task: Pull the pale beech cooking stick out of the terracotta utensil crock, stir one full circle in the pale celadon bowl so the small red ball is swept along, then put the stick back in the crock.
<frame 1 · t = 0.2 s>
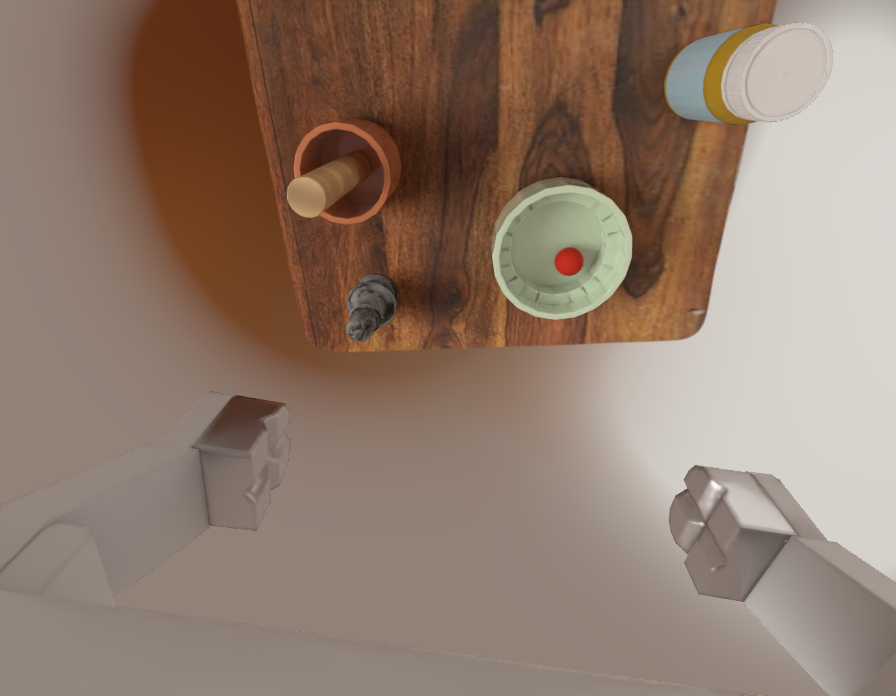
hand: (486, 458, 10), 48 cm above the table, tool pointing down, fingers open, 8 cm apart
crock: (360, 164, 52), on the table
bowl: (553, 241, 55), on the table
grey chess piece: (377, 293, 60), on the table
bottle: (697, 79, 47), on the table
ball: (569, 261, 54), point 2 cm above the table, touching bowl
stick: (358, 165, 51), point 1 cm above the table, touching crock
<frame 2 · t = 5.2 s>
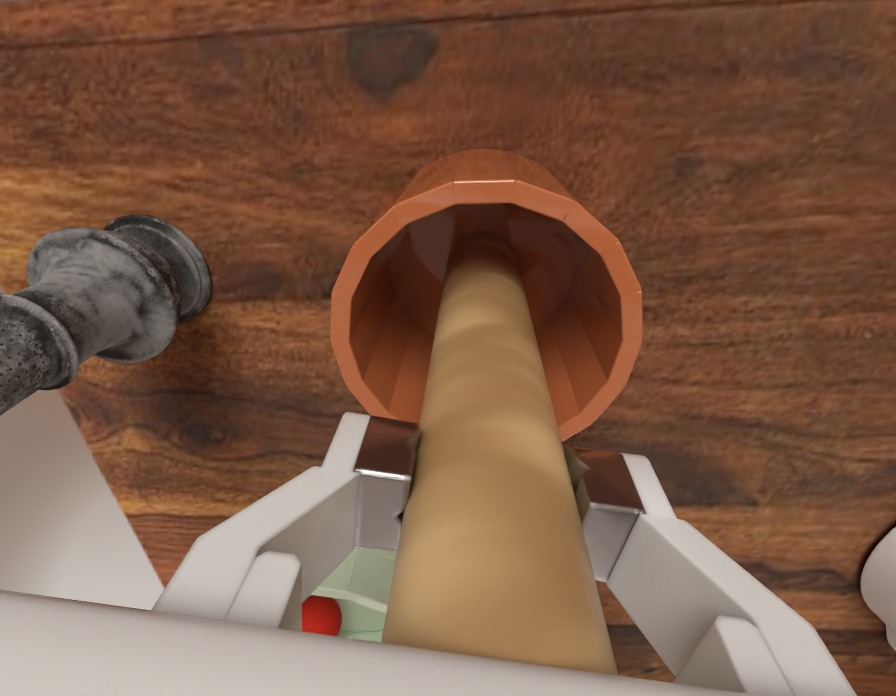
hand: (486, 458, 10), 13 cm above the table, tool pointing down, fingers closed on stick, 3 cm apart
crock: (481, 259, 21), on the table
bowl: (348, 573, 32), on the table
grey chess piece: (157, 269, 22), on the table
ball: (316, 621, 31), point 2 cm above the table, touching bowl
stick: (481, 265, 20), point 1 cm above the table, touching crock, gripper
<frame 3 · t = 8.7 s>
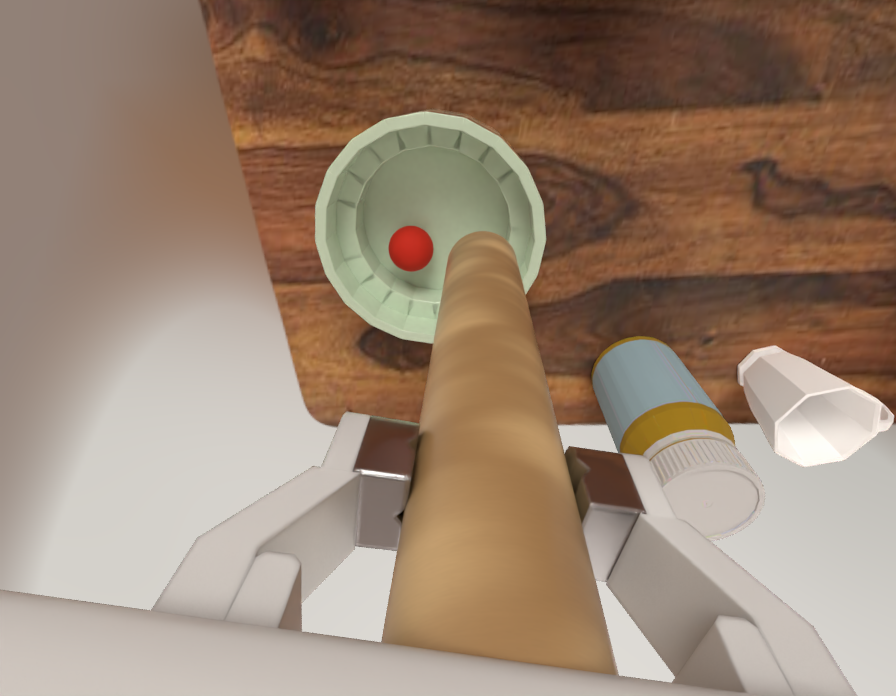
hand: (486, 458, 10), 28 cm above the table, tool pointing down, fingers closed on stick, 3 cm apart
bowl: (436, 218, 35), on the table
cup: (780, 369, 39), on the table
bottle: (631, 368, 40), on the table
ball: (411, 248, 34), point 2 cm above the table, touching bowl
stick: (481, 265, 20), point 15 cm above the table, touching gripper
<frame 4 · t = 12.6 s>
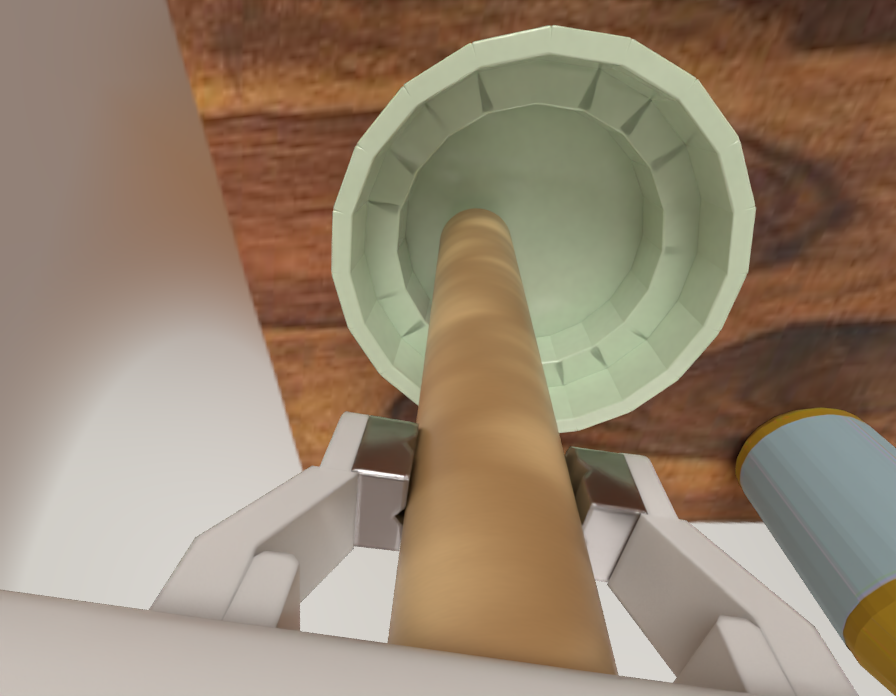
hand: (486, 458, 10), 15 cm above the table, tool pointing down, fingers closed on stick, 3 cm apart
bowl: (520, 230, 22), on the table
bottle: (792, 449, 27), on the table
stick: (475, 243, 20), point 2 cm above the table, touching ball, gripper
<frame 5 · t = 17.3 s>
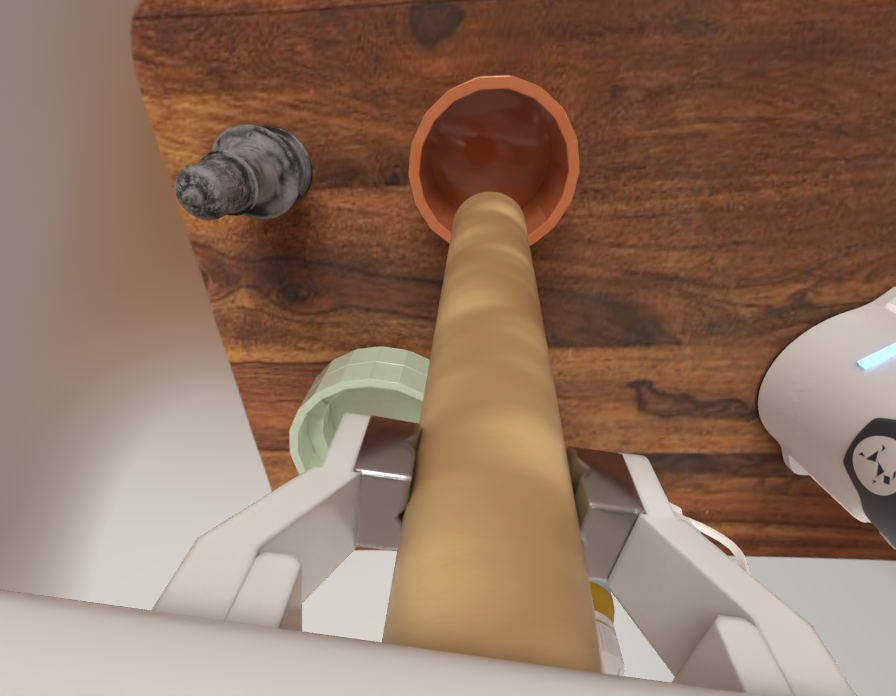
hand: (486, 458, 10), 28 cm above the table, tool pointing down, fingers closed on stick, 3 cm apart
crock: (489, 155, 33), on the table
bowl: (389, 411, 44), on the table
cup: (673, 516, 48), on the table
grey chess piece: (276, 166, 34), on the table
bottle: (553, 513, 49), on the table
stick: (488, 227, 20), point 16 cm above the table, tilted 7°, touching gripper
when the fingers open (13 cm above the table, at t = 21.7 s): stick stays where it is, resting on crock.
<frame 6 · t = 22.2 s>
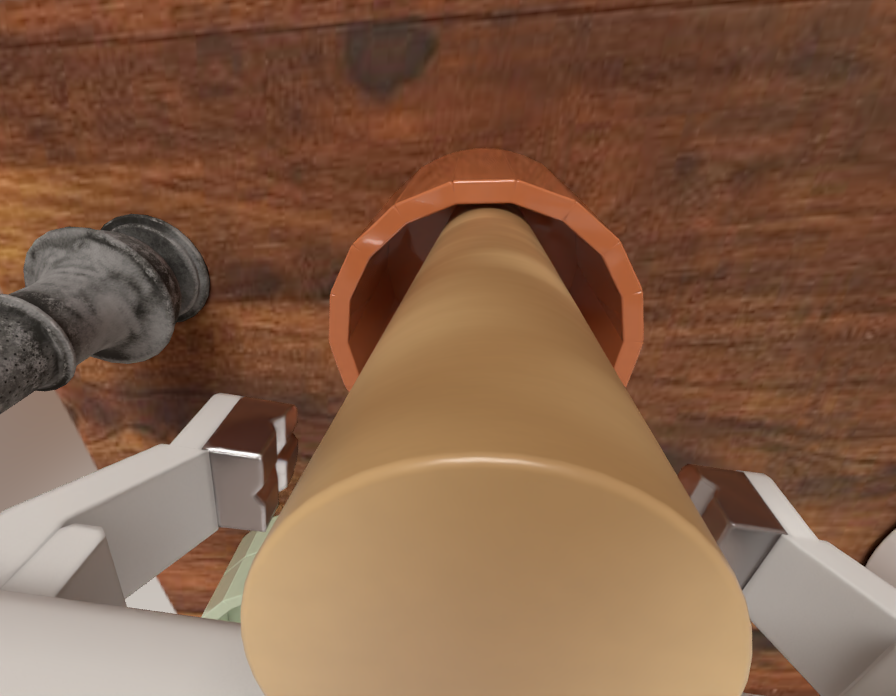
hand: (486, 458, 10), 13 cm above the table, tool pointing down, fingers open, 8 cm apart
crock: (480, 259, 21), on the table
bowl: (347, 574, 32), on the table
grey chess piece: (155, 269, 22), on the table
stick: (486, 227, 19), point 1 cm above the table, tilted 6°, touching crock
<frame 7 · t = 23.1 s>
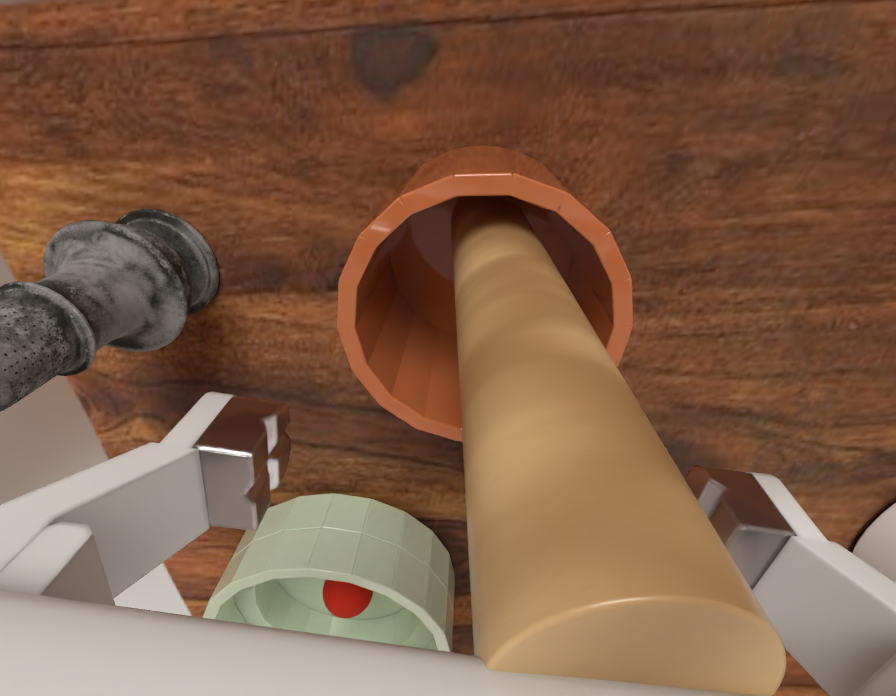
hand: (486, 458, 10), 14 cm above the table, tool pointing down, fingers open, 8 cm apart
crock: (480, 252, 22), on the table
bowl: (350, 561, 33), on the table
grey chess piece: (167, 262, 23), on the table
ball: (348, 589, 30), point 2 cm above the table, tilted 100°, touching bowl
stick: (485, 221, 20), point 1 cm above the table, touching crock
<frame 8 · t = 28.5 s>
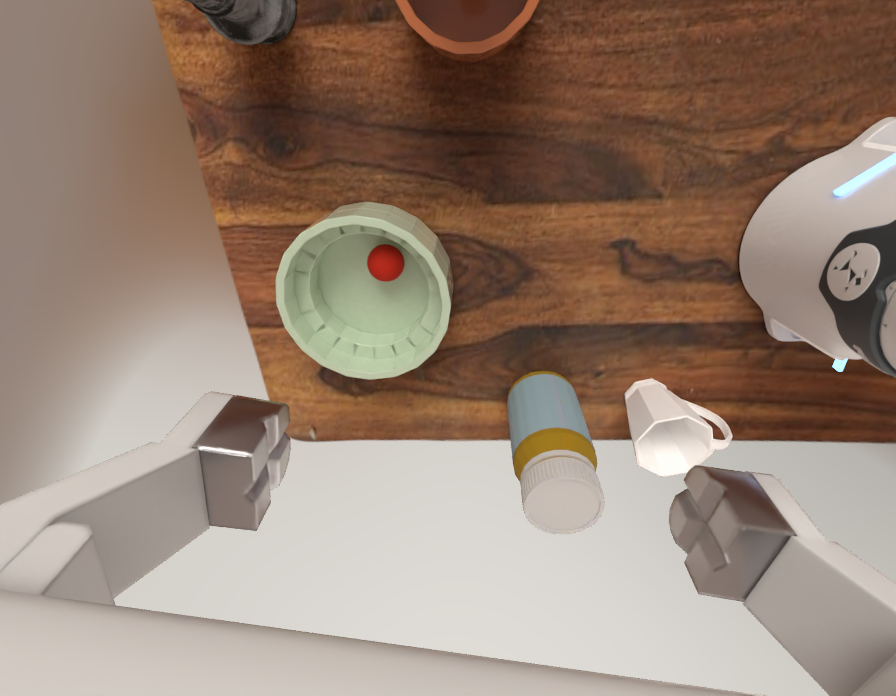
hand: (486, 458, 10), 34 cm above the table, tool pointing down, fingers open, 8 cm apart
bowl: (376, 279, 44), on the table
cup: (659, 396, 49), on the table
grey chess piece: (261, 2, 35), on the table
bottle: (540, 395, 49), on the table
ball: (385, 263, 41), point 2 cm above the table, tilted 178°, touching bowl
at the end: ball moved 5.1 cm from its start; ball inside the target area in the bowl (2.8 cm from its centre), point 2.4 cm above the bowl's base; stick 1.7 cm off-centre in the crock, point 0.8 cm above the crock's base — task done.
